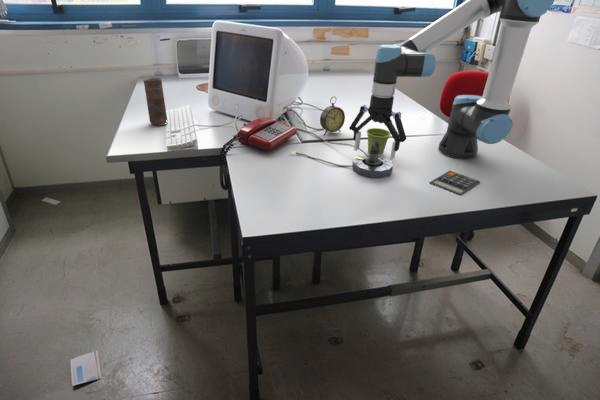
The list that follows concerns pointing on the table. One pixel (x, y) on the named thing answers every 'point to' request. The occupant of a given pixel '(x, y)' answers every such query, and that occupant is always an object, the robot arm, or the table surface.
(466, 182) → the calculator
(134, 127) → the table surface
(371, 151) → the dark stone statuette
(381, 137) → the plant pot
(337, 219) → the table surface
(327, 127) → the alarm clock
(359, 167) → the ring
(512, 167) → the table surface
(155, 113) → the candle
